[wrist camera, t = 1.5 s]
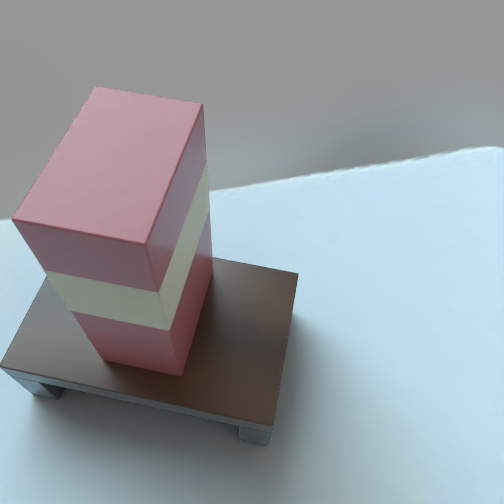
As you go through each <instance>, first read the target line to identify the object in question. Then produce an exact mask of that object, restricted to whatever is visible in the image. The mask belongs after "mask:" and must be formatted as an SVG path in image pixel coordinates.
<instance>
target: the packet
mask: <svg viewBox="0 0 504 504" xmlns="http://www.w3.org/2000/svg"><path fill="white" fill-rule="evenodd" d="M209 209H210V203H209V186H208V170H207V160H206V144H205V129H204V111H203V104H201V103H195V102H188V101H183V100H176V99H170V98H164V97H158V96H152V95H146V94H140V93H134V92H128V91H122V90H116V89H110V88H104V87H95V88H94V89H93V91H92V93H91V94H90V96H89V97H88V99H87V100H86V102H85V104H84V105H83V107H82V108H81V110H80V111H79V113H78V115H77V116H76V118H75V119H74V121H73V122H72V124H71V126H70V127H69V129H68V130H67V132H66V134H65V135H64V137H63V138H62V140H61V141H60V143H59V145H58V146H57V148H56V149H55V151H54V152H53V154H52V156H51V157H50V159H49V160H48V162H47V164H46V165H45V167H44V168H43V170H42V171H41V173H40V175H39V176H38V178H37V180H36V181H35V182H34V184H33V186H32V187H31V189H30V190H29V192H28V194H27V195H26V197H25V198H24V200H23V202H22V203H21V205H20V206H19V208H18V209H17V211H16V213H15V214H14V216H13V217H12V221H13V223H14V224H15V226H16V228H17V229H18V231H19V232H20V234H21V235H22V237H23V238H24V240H25V241H26V243H27V244H28V246H29V248H30V249H31V251H32V252H33V254H34V255H35V257H36V258H37V260H38V261H39V263H40V264H41V266H42V268H43V269H44V272H45V273H46V275H47V276H48V278H49V279H50V281H51V283H52V284H53V286H54V287H55V289H56V290H57V292H58V293H59V295H60V296H61V298H62V299H63V301H64V302H65V304H66V305H67V307H68V309H69V310H70V311H71V312H72V314H73V315H74V317H75V318H76V320H77V321H78V323H79V324H80V326H81V327H82V329H83V331H84V332H85V334H86V335H87V337H88V338H89V340H90V341H91V343H92V344H93V346H94V347H95V349H96V351H97V352H98V354H99V355H100V357H101V358H102V360H105V361H110V362H115V363H119V364H124V365H129V366H133V367H138V368H143V369H148V370H152V371H157V372H162V373H166V374H171V375H176V376H182V374H183V371H184V367H185V364H186V360H187V357H188V353H189V350H190V347H191V343H192V340H193V336H194V333H195V330H196V326H197V323H198V319H199V316H200V313H201V309H202V306H203V302H204V299H205V295H206V292H207V289H208V285H209V282H210V278H211V275H212V272H213V260H212V243H211V227H210V210H209Z"/></svg>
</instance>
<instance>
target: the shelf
mask: <svg viewBox="0 0 504 504" xmlns="http://www.w3.org/2000/svg"><path fill="white" fill-rule="evenodd" d="M212 260H213V272H212V275H211V278H210V282H209V285H208V289H207V292H206V295H205V299H204V302H203V306H202V309H201V313H200V316H199V319H198V323H197V326H196V330H195V333H194V336H193V340H192V343H191V347H190V350H189V353H188V357H187V360H186V364H185V367H184V371H183V374H182V376H176V375H171V374H166V373H162V372H157V371H152V370H148V369H143V368H138V367H133V366H129V365H124V364H119V363H115V362H110V361H105V360H102V358H101V357H100V355H99V354H98V352H97V351H96V349H95V347H94V346H93V344H92V343H91V341H90V340H89V338H88V337H87V335H86V334H85V332H84V331H83V329H82V327H81V326H80V324H79V323H78V321H77V320H76V318H75V317H74V315H73V314H72V312H71V311H70V310H69V309H68V307H67V305H66V304H65V302H64V301H63V299H62V298H61V296H60V295H59V293H58V292H57V290H56V289H55V287H54V286H53V284H52V283H51V281H50V279H49V278H48V276H46V278H45V280H44V282H43V284H42V286H41V288H40V290H39V292H38V293H37V295H36V297H35V299H34V301H33V303H32V305H31V307H30V308H29V310H28V312H27V314H26V316H25V318H24V320H23V322H22V324H21V325H20V327H19V329H18V331H17V333H16V335H15V337H14V339H13V341H12V342H11V344H10V346H9V348H8V350H7V352H6V354H5V356H4V358H3V359H2V361H1V363H0V368H1V369H2V370H4V371H5V372H6V373H7V374H8V375H10V376H11V377H12V378H14V379H15V380H16V381H17V382H18V383H20V384H21V385H22V386H23V387H24V388H26V389H27V390H28V391H29V392H31V393H32V394H34V395H39V396H43V397H48V398H52V399H58V398H59V396H60V393H61V391H62V389H63V387H64V388H68V389H73V390H77V391H82V392H86V393H91V394H95V395H100V396H105V397H109V398H114V399H118V400H123V401H127V402H132V403H136V404H141V405H146V406H150V407H155V408H159V409H164V410H168V411H173V412H178V413H182V414H187V415H191V416H196V417H200V418H205V419H209V420H214V421H219V422H223V423H228V424H232V425H237V426H239V440H241V441H246V442H250V443H255V444H259V445H264V446H266V445H267V443H268V440H269V437H270V434H271V431H272V428H273V424H274V418H275V412H276V406H277V400H278V394H279V388H280V382H281V376H282V370H283V364H284V358H285V352H286V346H287V340H288V334H289V328H290V322H291V316H292V310H293V304H294V298H295V292H296V286H297V280H298V273H293V272H287V271H282V270H277V269H272V268H266V267H261V266H256V265H251V264H245V263H240V262H235V261H230V260H225V259H219V258H214V257H212Z"/></svg>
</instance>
